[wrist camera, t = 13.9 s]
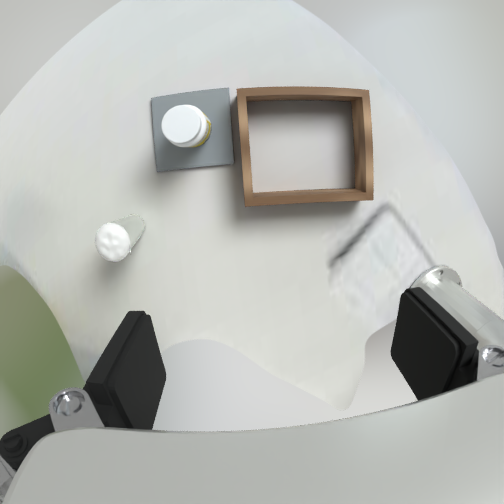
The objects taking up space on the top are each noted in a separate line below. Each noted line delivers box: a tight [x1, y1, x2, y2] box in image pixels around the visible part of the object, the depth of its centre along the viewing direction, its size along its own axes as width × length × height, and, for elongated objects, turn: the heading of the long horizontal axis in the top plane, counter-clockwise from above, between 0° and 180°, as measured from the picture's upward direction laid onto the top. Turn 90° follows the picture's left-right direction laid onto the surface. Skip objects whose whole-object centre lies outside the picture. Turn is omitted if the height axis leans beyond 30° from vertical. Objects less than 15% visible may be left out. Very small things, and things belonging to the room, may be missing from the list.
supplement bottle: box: [161, 105, 212, 147], centre depth 31 cm, size 5×5×8 cm
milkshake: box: [95, 214, 145, 262], centre depth 35 cm, size 5×5×10 cm
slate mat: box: [151, 88, 234, 172], centre depth 36 cm, size 10×10×1 cm
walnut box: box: [237, 87, 373, 207], centre depth 35 cm, size 14×16×4 cm
